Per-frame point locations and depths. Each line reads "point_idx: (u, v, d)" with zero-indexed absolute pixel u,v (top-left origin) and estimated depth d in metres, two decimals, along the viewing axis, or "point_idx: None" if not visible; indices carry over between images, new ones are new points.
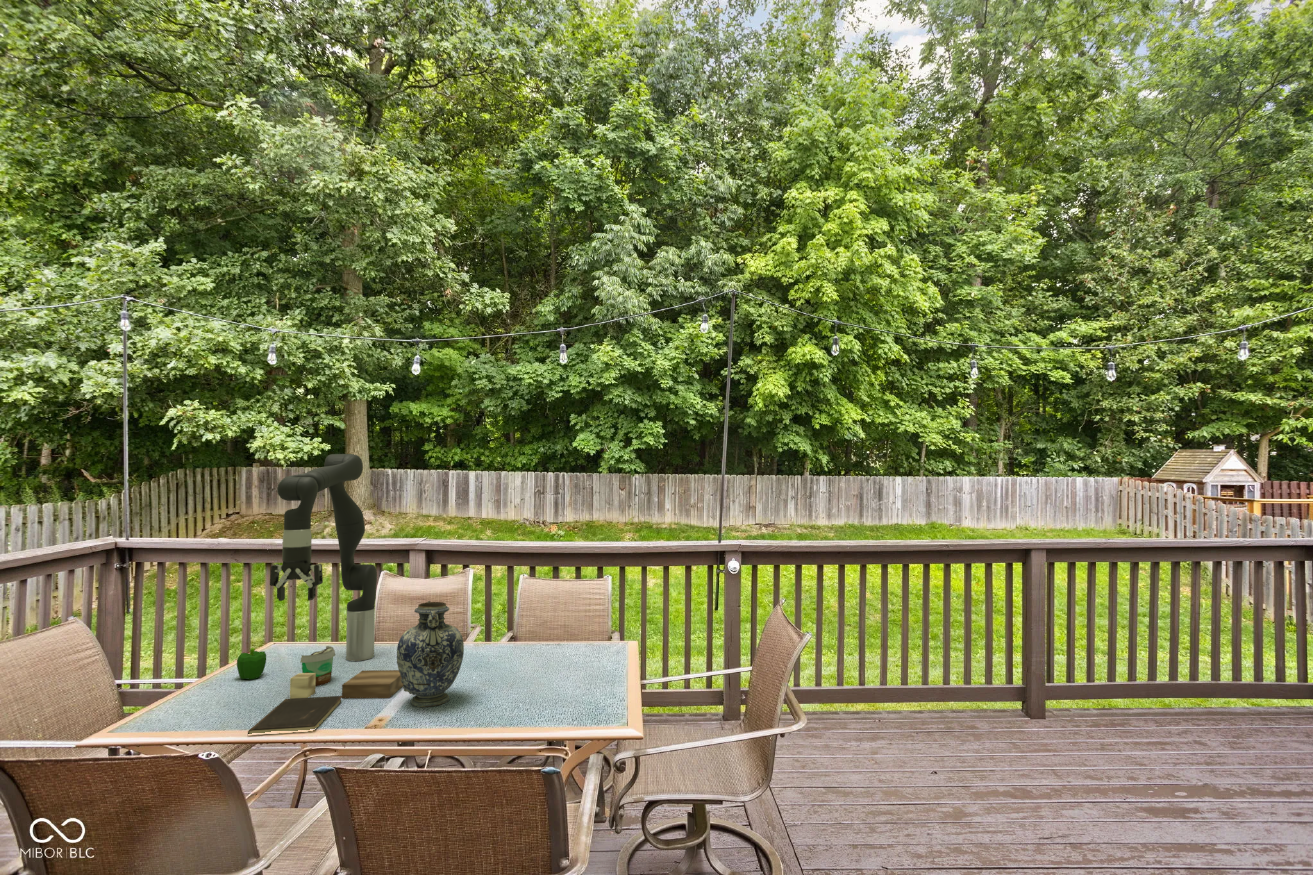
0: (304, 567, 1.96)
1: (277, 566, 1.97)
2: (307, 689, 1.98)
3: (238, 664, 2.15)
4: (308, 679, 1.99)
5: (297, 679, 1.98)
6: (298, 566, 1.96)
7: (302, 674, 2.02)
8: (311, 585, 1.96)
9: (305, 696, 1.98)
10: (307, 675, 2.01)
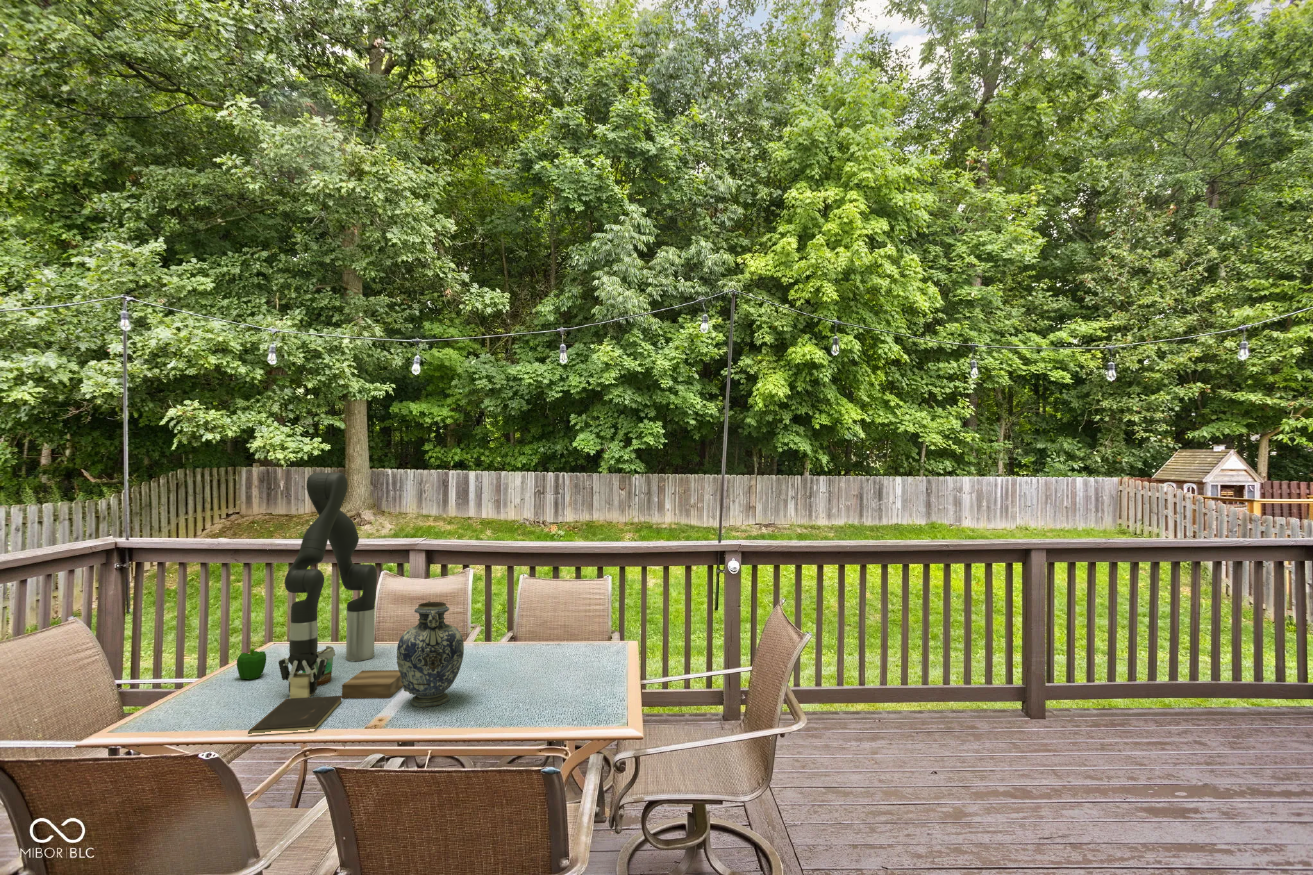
0: (311, 658, 2.00)
1: (284, 660, 2.00)
2: (307, 689, 1.98)
3: (238, 664, 2.15)
4: (308, 679, 1.99)
5: (297, 679, 1.98)
6: (305, 658, 2.00)
7: (302, 674, 2.02)
8: (312, 680, 1.99)
9: (305, 696, 1.98)
10: None
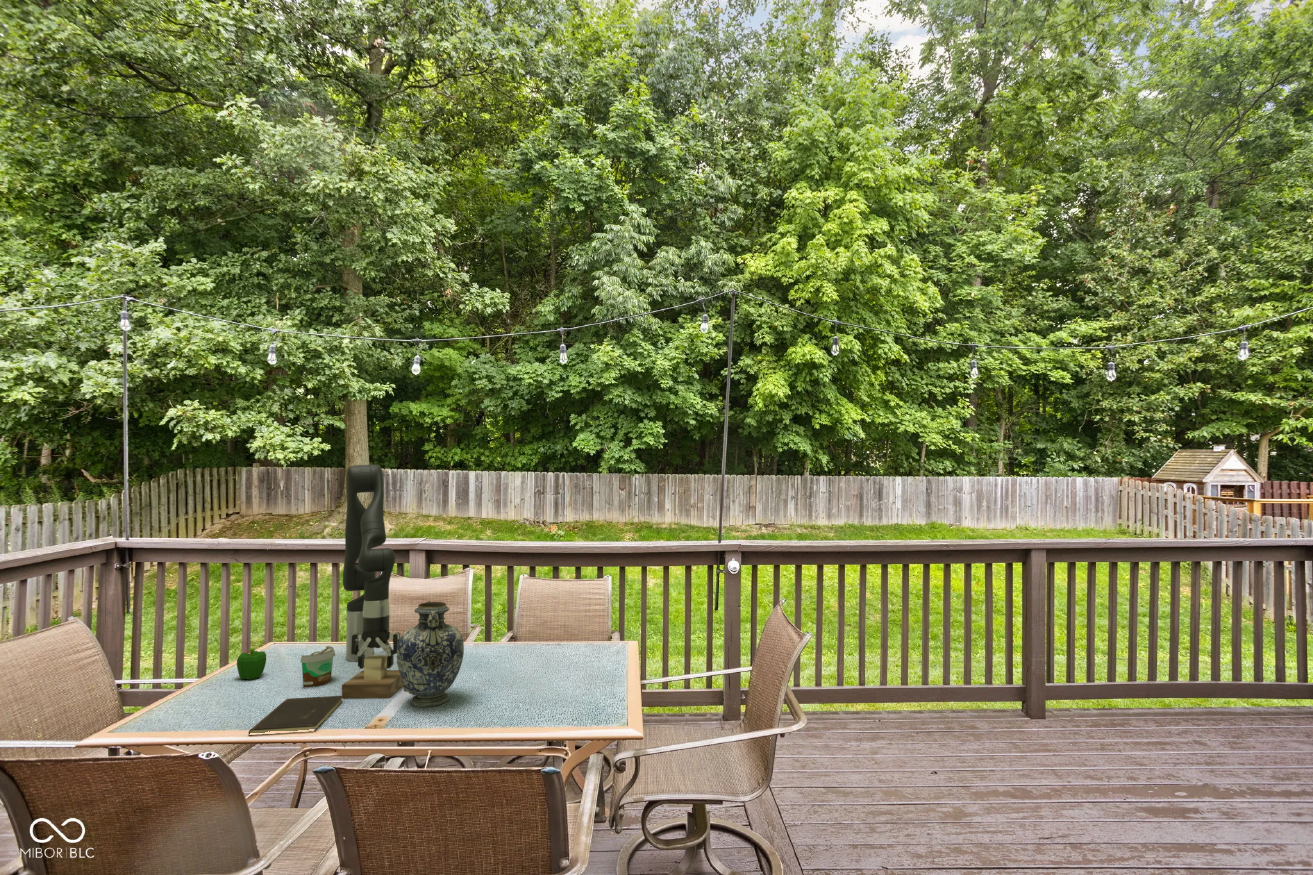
0: (383, 636, 2.04)
1: (357, 635, 2.05)
2: (380, 670, 2.03)
3: (238, 664, 2.15)
4: (381, 660, 2.03)
5: (371, 660, 2.02)
6: (378, 635, 2.04)
7: (374, 656, 2.06)
8: (390, 654, 2.04)
9: (379, 677, 2.02)
10: (380, 656, 2.05)
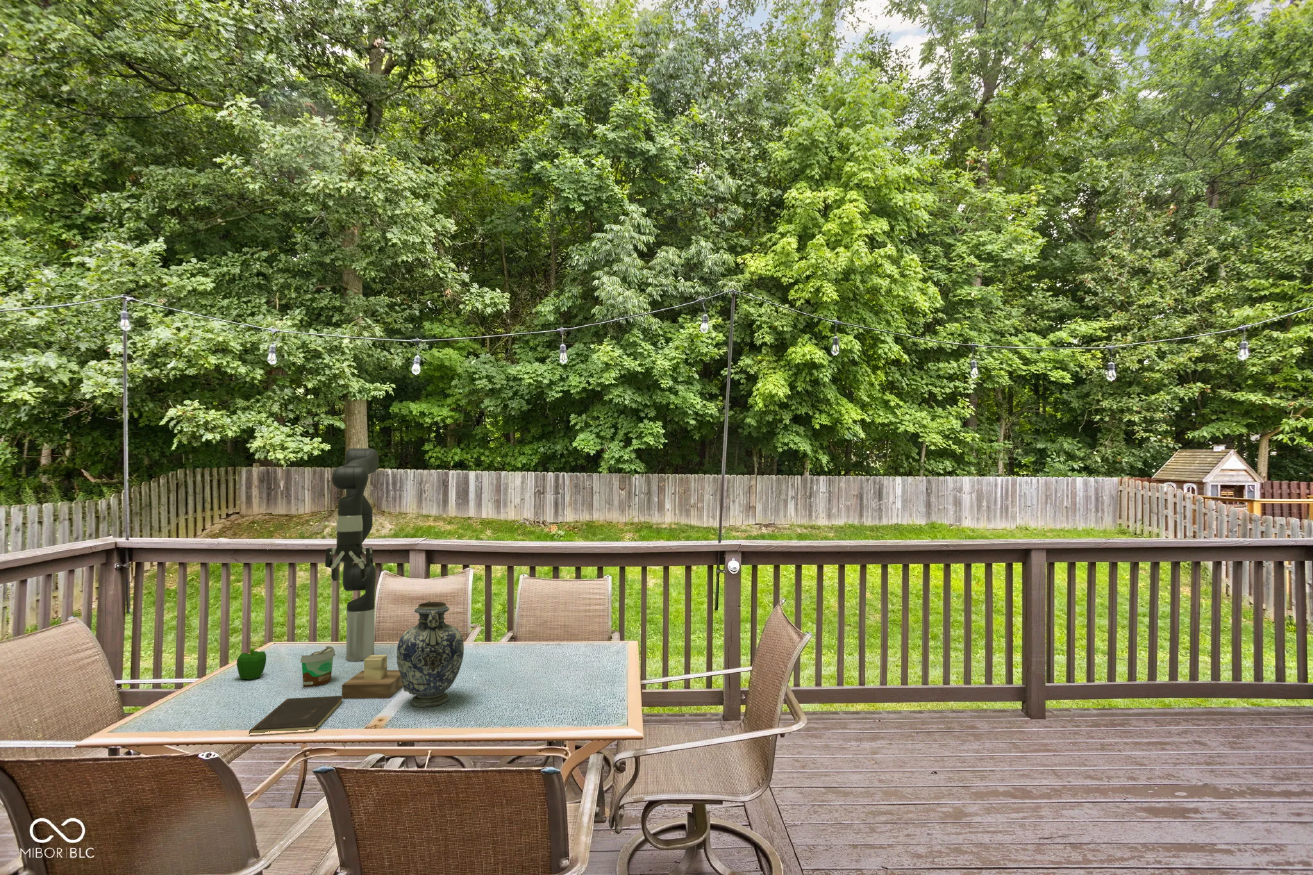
0: (356, 550, 2.13)
1: (331, 549, 2.14)
2: (380, 670, 2.03)
3: (238, 664, 2.15)
4: (381, 660, 2.03)
5: (371, 660, 2.02)
6: (351, 549, 2.13)
7: (374, 656, 2.06)
8: (363, 566, 2.13)
9: (379, 677, 2.02)
10: (380, 656, 2.05)
